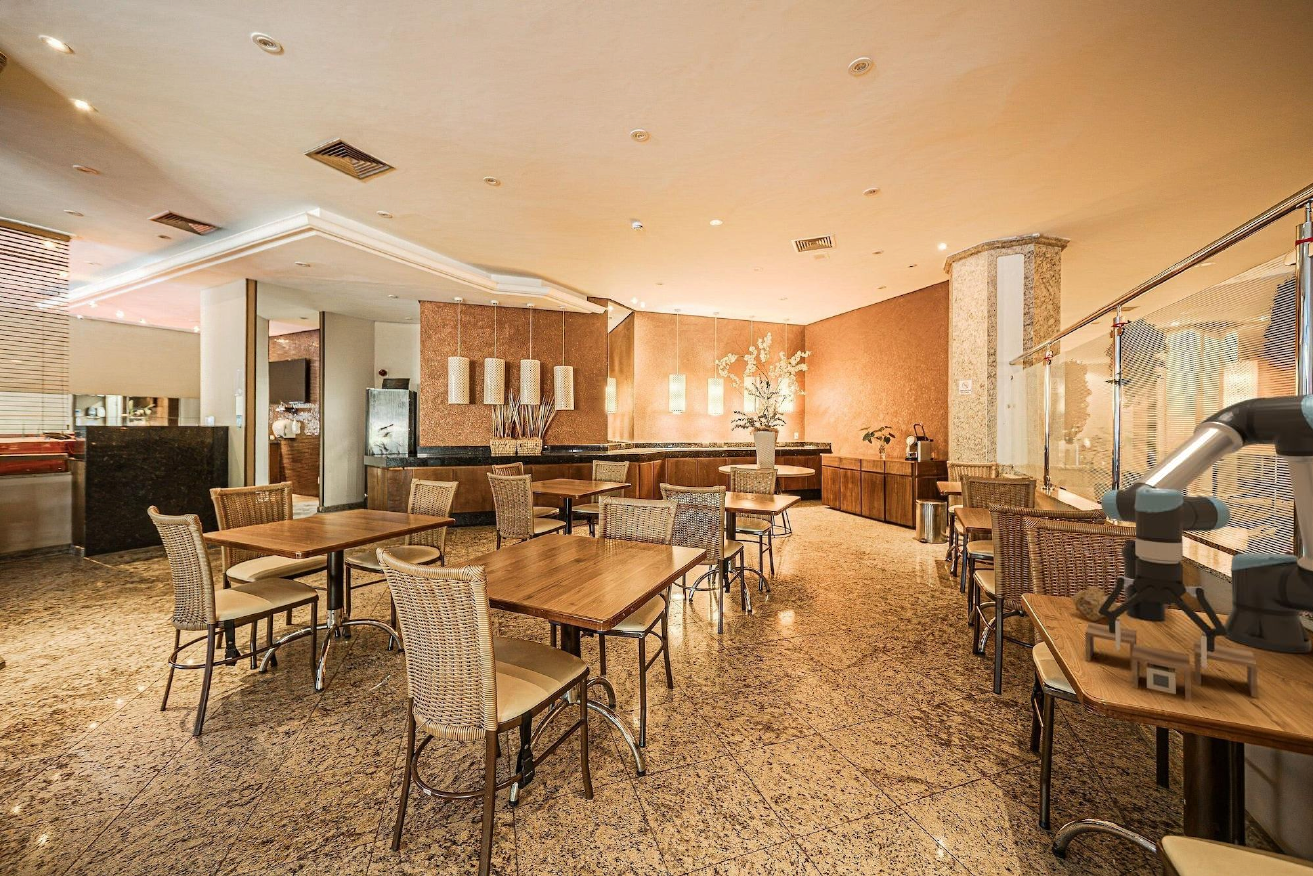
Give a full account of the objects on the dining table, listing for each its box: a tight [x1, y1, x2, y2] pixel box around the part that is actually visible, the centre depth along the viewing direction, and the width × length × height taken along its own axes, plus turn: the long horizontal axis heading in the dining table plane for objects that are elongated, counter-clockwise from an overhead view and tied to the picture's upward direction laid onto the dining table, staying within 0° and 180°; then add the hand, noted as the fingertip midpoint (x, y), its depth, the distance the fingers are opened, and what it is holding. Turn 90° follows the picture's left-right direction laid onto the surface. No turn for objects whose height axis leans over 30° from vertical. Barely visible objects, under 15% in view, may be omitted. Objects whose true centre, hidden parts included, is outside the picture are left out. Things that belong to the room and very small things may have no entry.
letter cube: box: [1146, 663, 1177, 695], centre depth 116 cm, size 5×4×5 cm
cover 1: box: [1084, 622, 1138, 671], centre depth 131 cm, size 9×9×7 cm
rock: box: [1070, 585, 1119, 622], centre depth 158 cm, size 12×10×10 cm
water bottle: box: [1121, 539, 1166, 623], centre depth 160 cm, size 10×10×23 cm
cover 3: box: [1193, 640, 1258, 698], centre depth 117 cm, size 9×9×7 cm
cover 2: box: [1131, 644, 1192, 702], centre depth 116 cm, size 9×9×7 cm
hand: (1159, 656), depth 116 cm, fingers open, 13 cm apart
